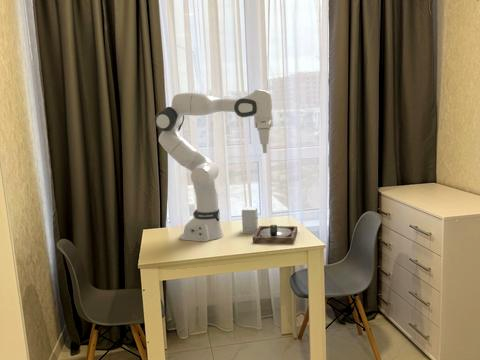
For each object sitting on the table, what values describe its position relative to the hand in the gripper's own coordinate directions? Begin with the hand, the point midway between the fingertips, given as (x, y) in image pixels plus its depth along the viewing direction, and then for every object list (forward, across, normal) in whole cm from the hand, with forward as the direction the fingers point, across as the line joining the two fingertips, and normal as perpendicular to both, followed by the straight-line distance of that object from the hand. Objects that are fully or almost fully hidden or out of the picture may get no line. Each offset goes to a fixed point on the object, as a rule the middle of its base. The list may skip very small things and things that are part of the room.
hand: (264, 151), depth 241 cm
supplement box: (+44, -13, -9) cm, 47 cm away
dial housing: (+44, 0, +4) cm, 44 cm away
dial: (+43, 0, +4) cm, 43 cm away
